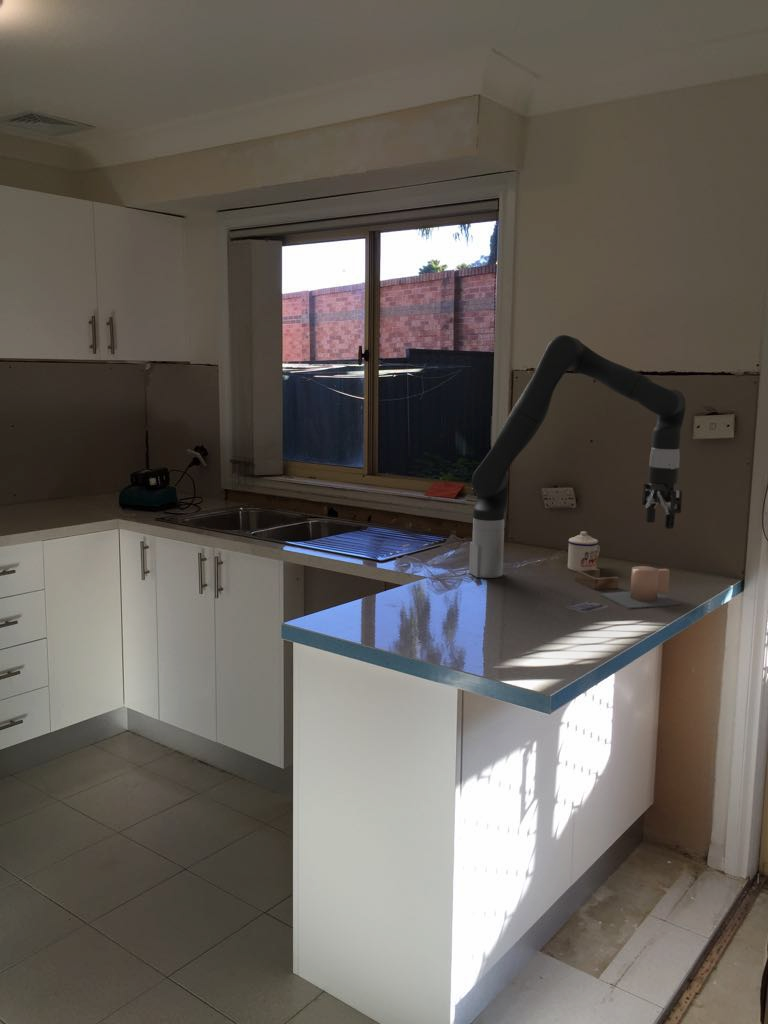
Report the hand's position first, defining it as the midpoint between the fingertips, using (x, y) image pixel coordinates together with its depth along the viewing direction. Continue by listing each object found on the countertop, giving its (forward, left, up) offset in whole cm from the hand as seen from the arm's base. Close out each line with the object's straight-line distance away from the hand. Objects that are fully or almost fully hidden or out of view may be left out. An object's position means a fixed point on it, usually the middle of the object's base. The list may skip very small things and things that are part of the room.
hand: (659, 525), depth 231 cm
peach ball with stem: (-2, -1, -20) cm, 20 cm away
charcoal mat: (-5, -1, -20) cm, 21 cm away
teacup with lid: (-1, +35, -20) cm, 41 cm away
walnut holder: (-8, +17, -20) cm, 28 cm away
